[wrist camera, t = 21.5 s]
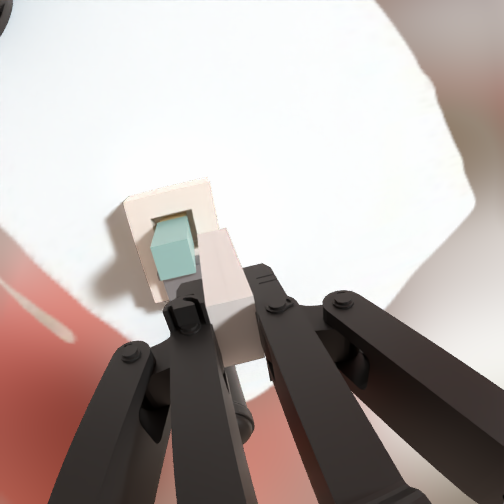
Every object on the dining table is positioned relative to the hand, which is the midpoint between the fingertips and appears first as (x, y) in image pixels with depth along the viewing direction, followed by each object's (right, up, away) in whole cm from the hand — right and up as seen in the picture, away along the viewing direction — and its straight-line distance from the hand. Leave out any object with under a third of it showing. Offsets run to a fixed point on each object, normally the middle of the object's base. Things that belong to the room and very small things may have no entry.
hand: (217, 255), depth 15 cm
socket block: (-9, +2, +30) cm, 31 cm away
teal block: (-9, +4, +28) cm, 30 cm away
